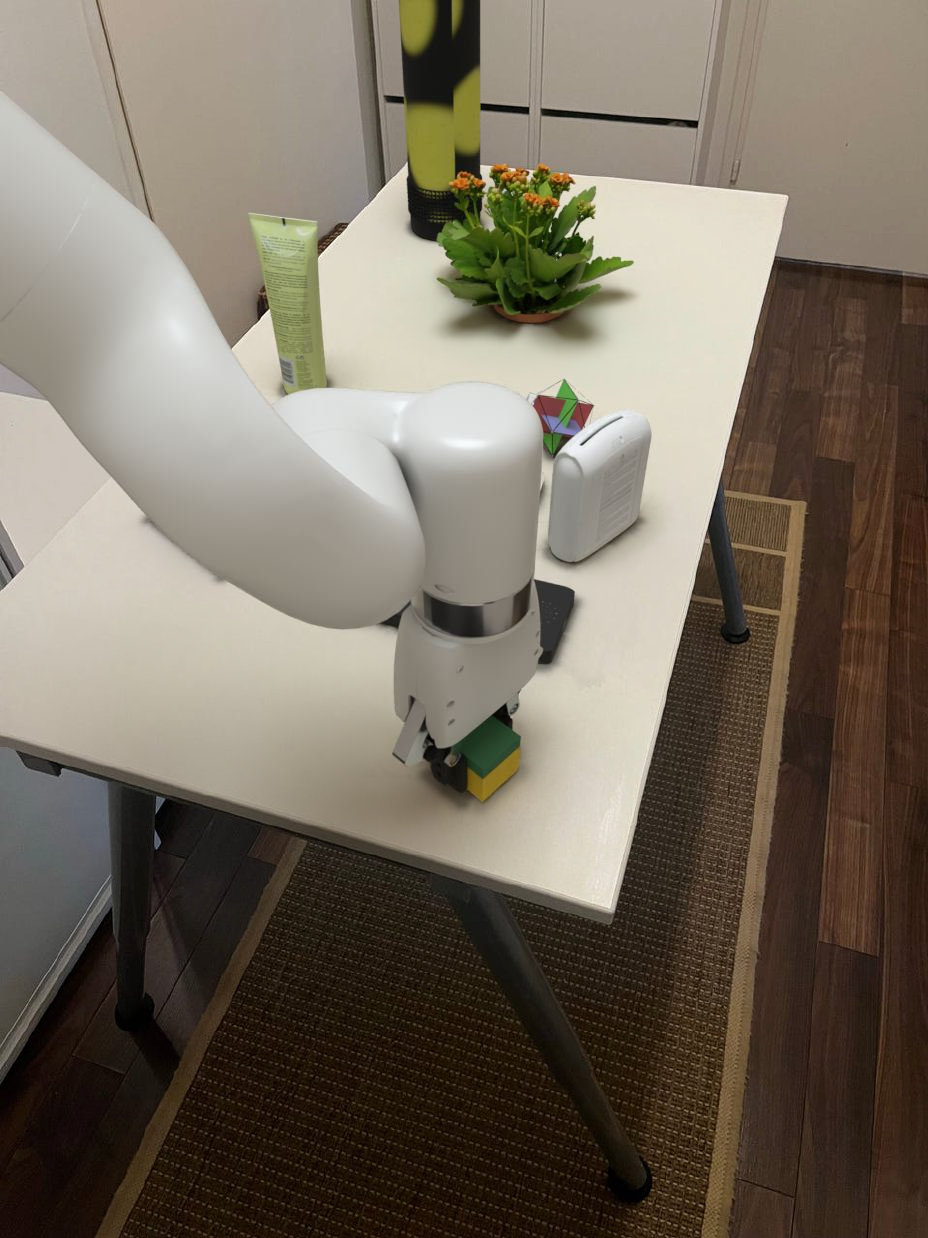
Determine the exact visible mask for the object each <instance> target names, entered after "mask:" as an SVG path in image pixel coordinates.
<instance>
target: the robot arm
mask: <svg viewBox="0 0 928 1238" xmlns="http://www.w3.org/2000/svg"><path fill="white" fill-rule="evenodd" d="M0 365H1V366H3V367H4V368H6V369H7V370H9V371H10V372H12V373H13V374H15V376H17V377H19V378H20V379H21V380H23V381H25V382H26V383H27V384H29V385H30V386H31V387H32V388H34V389H35V390H36V391H37V392H38V393H39V394H40V395H42V397H44V399H45V400H46V401H47V402H48V403H49V404H50V405H51V407H52V408H53V409H54V410H55V412H56V413H57V414H58V415H59V417H60V418H61V419H62V421H63V422H64V424H65V425H66V426H67V428H68V429H69V430H70V431H71V433H72V434H73V436H74V437H75V438H76V439H77V440H78V441H79V443H80V444H81V446H83V448H84V449H85V450H86V451H87V452H88V453H89V454H90V455H91V457H92V458H93V459H94V460H95V461H96V462H97V463H98V464H99V466H101V468H103V470H104V471H105V473H107V474H108V475H109V477H111V478H112V480H114V481H115V483H116V484H117V485H118V486H119V488H121V489H122V491H123V492H124V493H125V494H126V495H127V496H128V497H129V498H130V500H131V501H132V502H133V503H134V504H135V505H136V506H137V507H138V509H139V510H140V511H141V512H142V513H143V514H144V515H145V516H146V517H147V518H148V519H149V520H150V521H151V522H152V523H153V524H154V525H155V526H156V527H157V529H159V530H160V531H161V532H162V533H163V534H164V535H165V536H166V537H167V538H168V539H169V540H170V541H172V542H173V543H174V544H175V545H176V546H177V547H178V548H179V549H180V550H182V551H183V552H184V553H186V554H187V555H188V556H190V558H192V559H193V560H194V561H195V562H197V563H198V564H200V566H203V567H204V568H206V569H207V570H209V571H210V572H211V573H213V574H214V575H216V576H217V577H220V578H221V579H222V580H224V581H225V582H228V583H229V584H231V585H232V586H234V587H236V588H237V589H239V590H240V591H242V592H244V593H246V594H247V595H249V596H251V597H253V598H254V599H256V600H258V601H260V602H261V603H263V604H264V605H267V606H269V607H270V608H272V609H274V610H276V611H278V612H280V613H282V614H284V615H286V616H288V617H290V618H292V619H296V620H298V621H300V622H303V623H305V624H309V625H312V626H317V627H321V628H325V629H331V630H332V629H333V630H355V629H356V630H357V629H363V628H369V627H372V626H376V625H378V624H380V623H381V622H383V621H385V620H387V619H389V618H390V617H392V616H393V615H395V614H396V613H398V612H399V611H400V610H401V609H402V608H403V607H404V606H405V605H406V604H407V603H408V602H409V601H410V600H411V605H410V606H409V607H408V608H407V609H406V610H405V611H404V612H403V613H402V617H401V621H400V625H399V627H398V630H397V635H396V641H395V648H394V658H393V704H394V711H395V715H396V717H397V718H398V719H399V720H400V721H402V722H403V723H404V724H403V726H402V728H401V731H400V732H399V733H400V734H399V736H398V738H397V740H396V743H395V746H394V748H393V750H392V753H391V754H392V755H391V756H392V757H393V758H395V759H396V760H397V761H399V762H400V763H401V764H402V765H403V766H405V767H410V766H413V765H417V764H420V763H422V762H423V761H426V762H427V763H430V771H431V775H432V776H433V778H434V779H435V780H436V781H437V782H438V783H439V784H441V785H442V786H443V787H447V786H450V787H451V788H452V789H453V790H455V791H456V792H457V793H458V794H460V795H462V794H463V793H464V792H466V791H467V758H466V756H465V755H464V754H463V753H462V748H463V742H464V737H465V736H467V735H468V734H469V733H470V732H472V731H473V730H474V729H475V728H476V727H478V726H479V725H480V724H481V723H482V722H484V721H485V720H486V719H487V718H488V717H490V716H491V715H492V716H494V717H495V718H496V719H498V720H499V721H500V722H502V723H503V724H505V725H506V726H507V727H509V728H510V729H512V730H513V724H514V719H513V718H512V716H514V715H515V714H516V713H517V712H518V710H519V708H520V704H521V703H520V698H519V695H520V693H521V691H522V689H523V688H524V687H526V685H527V684H528V683H530V681H531V680H532V679H533V677H534V676H535V675H536V672H537V670H538V669H537V668H538V664H539V663H538V659H539V658H540V656H541V654H542V653H543V648H542V647H541V646H540V611H539V602H538V596H537V590H536V586H535V582H534V579H535V570H536V559H537V557H536V556H537V546H538V545H537V544H538V543H537V542H538V530H539V529H538V528H539V514H540V499H541V492H540V487H541V472H543V471H542V470H543V457H544V441H543V429H542V424H541V420H540V418H539V415H538V414H537V412H536V410H535V408H534V407H533V406H532V405H533V404H532V403H531V404H530V402H529V401H528V400H527V399H526V397H524V396H523V394H520V393H518V391H517V392H516V391H515V390H513V389H511V388H509V387H506V386H505V385H500V384H498V383H493V382H488V381H480V380H477V381H476V380H466V381H457V382H456V381H455V382H451V383H446V384H444V385H440V386H438V387H436V388H433V389H431V390H428V391H423V392H422V391H394V390H393V391H392V390H376V389H364V388H363V389H362V388H349V387H348V388H347V387H326V388H314V389H308V390H302V391H298V392H295V393H291V394H286V395H285V396H281V398H279V399H277V400H276V401H274V402H273V403H272V404H270V402H269V401H268V400H267V398H265V396H264V395H263V394H262V392H261V391H260V389H259V388H258V387H257V385H256V384H255V382H254V381H253V380H252V379H251V377H250V376H249V374H248V373H247V371H246V370H245V368H244V367H243V365H242V364H241V363H240V360H238V358H237V356H236V355H235V354H234V352H233V350H232V348H231V346H230V344H229V343H228V341H227V339H226V338H225V336H224V334H223V333H222V331H221V329H220V326H219V325H218V323H217V321H216V319H215V317H214V315H213V313H212V311H211V309H210V307H209V305H208V303H207V302H206V300H205V298H204V296H203V294H202V292H201V290H200V288H199V286H198V284H197V283H196V281H195V279H194V276H193V275H192V274H191V272H190V271H189V269H188V267H187V266H186V264H185V262H184V260H183V259H182V258H181V256H180V255H179V254H178V252H177V250H176V249H175V248H174V246H173V245H172V243H171V242H170V240H169V239H168V238H167V237H166V235H164V233H163V232H162V231H161V229H160V228H159V227H158V226H157V224H155V223H154V222H153V221H152V219H150V218H149V217H148V216H147V215H145V213H143V211H141V210H140V209H139V208H138V207H136V206H135V205H134V204H133V203H131V202H130V201H129V200H128V199H127V198H125V197H124V196H123V195H122V194H121V193H120V192H118V190H116V189H115V188H114V187H112V185H110V184H109V182H107V181H106V180H105V179H104V178H103V177H102V176H100V175H99V174H98V173H97V172H96V171H95V170H93V169H92V168H90V167H89V166H88V165H87V164H86V163H84V161H83V160H81V159H80V158H79V157H78V156H76V155H75V154H74V153H73V152H72V151H71V150H70V149H68V148H67V147H66V146H65V145H64V144H63V143H62V142H61V141H59V139H57V138H56V137H55V136H54V135H53V134H51V133H50V132H49V131H48V130H47V129H46V128H45V127H43V125H41V124H40V123H39V122H38V121H36V120H35V119H34V118H33V117H32V116H31V115H29V113H27V111H25V110H24V109H23V108H21V106H19V105H18V104H17V103H16V102H14V101H13V100H12V99H11V98H10V97H9V96H8V95H6V94H5V93H4V92H3V91H2V90H0Z"/></svg>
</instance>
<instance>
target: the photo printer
mask: <svg viewBox="0 0 928 1238" xmlns="http://www.w3.org/2000/svg"><path fill="white" fill-rule="evenodd" d="M652 435H653V434H652V427H651V424H650V422H649V420H648V418H647V417H646V414H643V413H640V412H637V411H636V410H635V409H623V410H618V411H613V412H611V413H609V414H607V415H606V414H605V415H604V416H602V417H600V418H598V419H597V420H595V421H593V422H592V423H589V425H587V426H585V428H584V427H583V429H582V430H581V431H580V432H579V433H577V434H576V435H575V436H574V437H573V438H572V439H571V438H569V440H568V441H567V442H566V443H565V444H564V445H563V446H562V447H561V448H560V450H558V451H559V453H557V454H555V457H554V459H553V463H552V476H551V489H550V501H549V511H548V528H547V545H548V546H549V547H550V551H551V553H552V554H553V556H555V557H556V558H557V559H559V560H562V561H564V562H568V563H572V562H575V563H577V562H579V561H581V560H584V559H586V558H588V557H590V556H591V554H593V553H595V552H596V551H598V550H599V549H601V548H602V547H604V546H605V545H606V544H608V543H610V542H611V541H612V540H613V539H614V538H616V537H618V536H619V535H620V534H622V533H623V532H624V531H626V530H627V529H628V528H629V527H631V526H632V525H633V524H634V523H635V522H636V521H637V520H638V517H639V516H640V515H639V514H640V510H641V504H642V497H643V491H644V484H645V479H646V471H647V466H648V460H649V454H650V448H651V443H652Z"/></svg>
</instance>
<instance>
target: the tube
mask: <svg viewBox="0 0 928 1238" xmlns="http://www.w3.org/2000/svg"><path fill="white" fill-rule="evenodd" d="M247 216H248V221H249V222H248V223H249V225H250V228H251V233H252V236H253V239H254V240H253V241H254V243H255V249H256V252H257V256H258V261H259V265H260V269H261V274H262V275H261V276H262V279H263V284H264V289H265V294H266V299H267V303H268V307H269V314H270V318H271V322H272V323H271V324H272V329H273V334H274V340H275V345H276V350H277V356H278V362H279V367H280V373H281V378H282V384H283V389H284V391H285V392H286V393H287V395H289V394H291V393H295V392H298V391H302V390H308V389H314V388H328V382H327V381H328V380H327V369H326V358H325V349H324V348H325V347H324V337H323V322H322V307H321V294H320V275H319V250H318V249H319V248H318V239H319V224H318V223H319V222H318V221H317V220H310V219H309V220H308V219H301V218H300V219H299V218H293V217H283V216H277V215H268V214H261V213H254V212H248V213H247Z"/></svg>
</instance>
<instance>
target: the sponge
mask: <svg viewBox="0 0 928 1238" xmlns="http://www.w3.org/2000/svg"><path fill="white" fill-rule="evenodd" d="M521 742H522V736H521V735H520V734H518V733H517V732H516V731H514V730H513V728H512V729H510V728H509V727H507V726H506V725H505V724H503V723H502V722H500V721H499V720H498V719H496V718H495V717H494V716H492V715H491V716H490V717H488V718H487V719H486V720H485V721H484V722H482V723H481V724H480V725H479V726H478V727H476V728H475V729H474V730H473V731H472V732H470V733H469V734H468V735H467V736H465V737H464V742H463V748H462V753H463V754H464V755H465V756H466V758H467V789H466V791H469V792H470V793H471V794H472V795H473V796H475V797H476V798H477V799H478V800H480V801H481V802H484V801H486V799H488V797H490V796H491V795H492V794H493V793H495V792H496V790H497V789H498V788H500V787H501V786H502V785H503V784H504V783H506V781H507V780H508V779H509V778H510V777H512V776H513V775H514V774H515V773H516V772H517V771H518V770H519V769H520V760H521V759H520V758H521Z"/></svg>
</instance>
